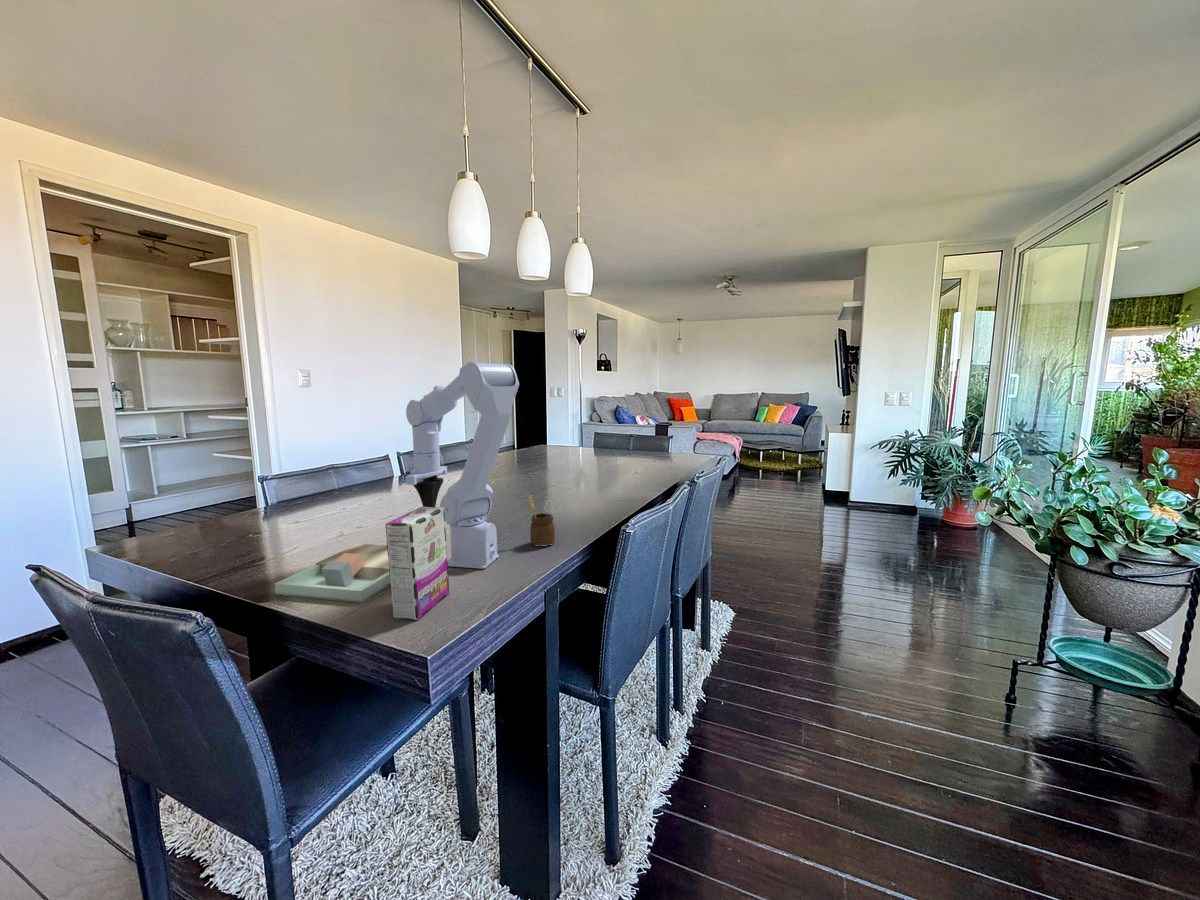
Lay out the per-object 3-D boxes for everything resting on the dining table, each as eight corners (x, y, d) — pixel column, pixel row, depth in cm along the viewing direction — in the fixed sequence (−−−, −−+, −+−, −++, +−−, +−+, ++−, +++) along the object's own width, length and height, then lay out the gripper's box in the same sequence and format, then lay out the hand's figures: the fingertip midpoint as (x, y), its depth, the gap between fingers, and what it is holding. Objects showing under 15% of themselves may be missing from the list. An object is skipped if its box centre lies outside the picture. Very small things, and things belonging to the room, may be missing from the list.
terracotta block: (364, 564, 98) (361, 554, 97) (352, 577, 95) (348, 566, 94) (347, 563, 99) (344, 552, 98) (334, 575, 96) (330, 565, 95)
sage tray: (396, 581, 97) (395, 570, 96) (362, 602, 87) (361, 591, 87) (316, 574, 100) (315, 564, 100) (275, 595, 90) (274, 583, 90)
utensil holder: (550, 548, 116) (549, 498, 115) (525, 546, 118) (524, 497, 116) (558, 540, 122) (557, 493, 120) (534, 539, 123) (533, 492, 122)
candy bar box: (425, 591, 92) (420, 505, 90) (450, 593, 91) (446, 506, 89) (389, 619, 81) (383, 522, 79) (417, 621, 80) (412, 523, 78)
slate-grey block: (348, 562, 93) (340, 570, 91) (354, 579, 95) (345, 587, 93) (330, 560, 94) (321, 568, 92) (336, 578, 96) (327, 586, 93)
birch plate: (431, 559, 109) (430, 548, 109) (396, 581, 97) (395, 569, 96) (359, 554, 113) (358, 543, 113) (316, 574, 100) (315, 563, 100)
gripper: (427, 448, 122) (430, 501, 124) (392, 455, 108) (395, 516, 109) (454, 448, 121) (456, 502, 122) (421, 456, 106) (424, 517, 108)
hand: (429, 509), depth 116 cm, fingers closed
